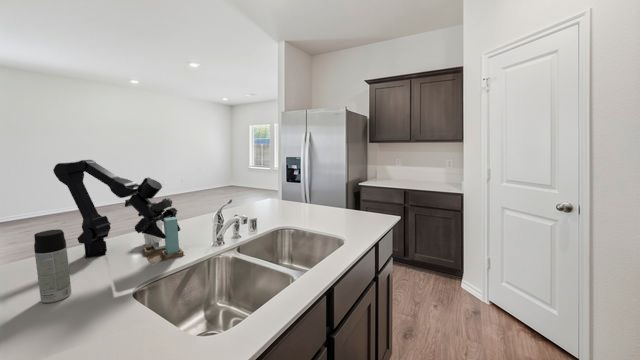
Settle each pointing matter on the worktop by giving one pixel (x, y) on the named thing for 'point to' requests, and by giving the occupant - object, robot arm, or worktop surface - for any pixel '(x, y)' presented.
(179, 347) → the worktop surface
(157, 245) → the lid
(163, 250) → the board
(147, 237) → the white cup
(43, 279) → the spray can
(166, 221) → the block
